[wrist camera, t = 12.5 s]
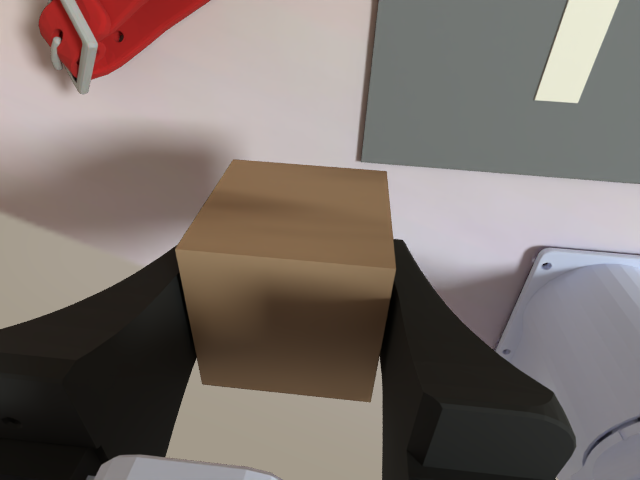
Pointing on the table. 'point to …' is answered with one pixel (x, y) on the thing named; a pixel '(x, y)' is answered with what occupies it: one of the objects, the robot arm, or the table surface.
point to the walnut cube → (290, 279)
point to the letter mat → (507, 87)
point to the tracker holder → (105, 32)
